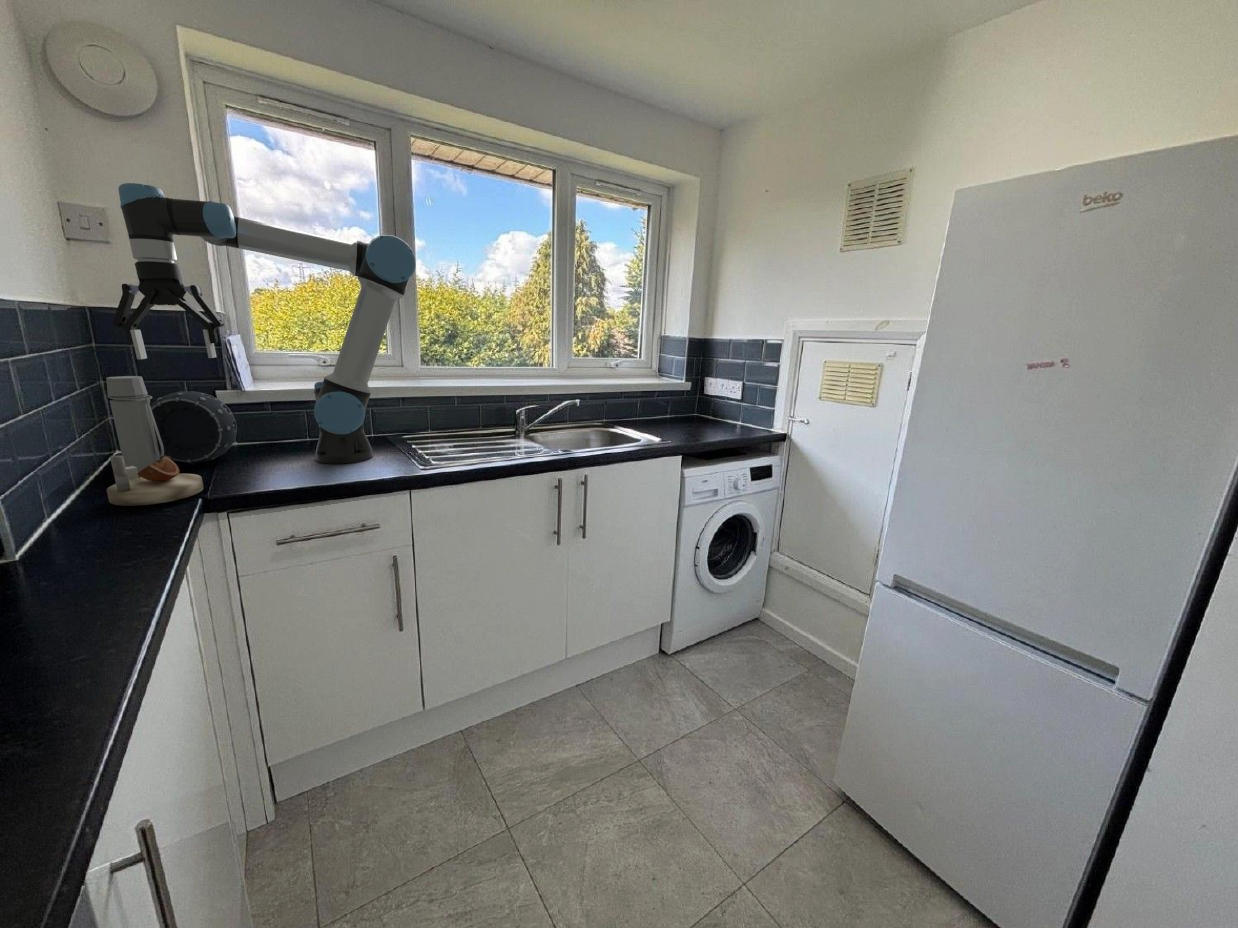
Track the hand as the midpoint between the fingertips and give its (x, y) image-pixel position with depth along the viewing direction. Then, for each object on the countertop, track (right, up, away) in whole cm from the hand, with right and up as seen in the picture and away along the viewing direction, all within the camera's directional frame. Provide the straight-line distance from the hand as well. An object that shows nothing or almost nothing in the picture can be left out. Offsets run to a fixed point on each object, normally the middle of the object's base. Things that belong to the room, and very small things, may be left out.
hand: (178, 358), depth 121 cm
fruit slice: (-1, -29, -4) cm, 29 cm away
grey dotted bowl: (-16, -25, +25) cm, 38 cm away
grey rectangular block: (-12, -31, +1) cm, 33 cm away
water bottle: (-18, -28, +12) cm, 35 cm away
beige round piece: (-2, -32, -5) cm, 32 cm away
